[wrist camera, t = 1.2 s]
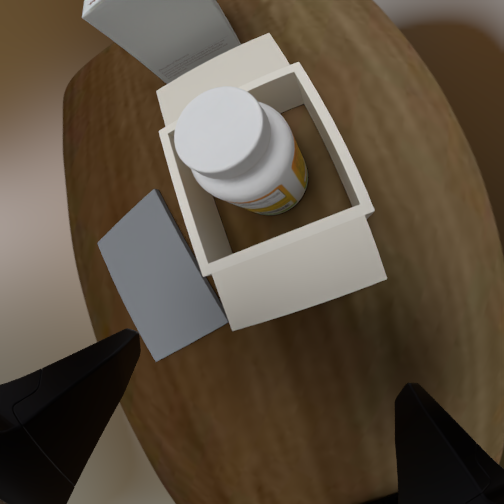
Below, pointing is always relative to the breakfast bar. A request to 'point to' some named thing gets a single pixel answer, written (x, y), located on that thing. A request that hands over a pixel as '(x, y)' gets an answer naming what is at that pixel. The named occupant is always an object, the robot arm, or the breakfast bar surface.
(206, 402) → the breakfast bar surface
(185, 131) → the supplement bottle
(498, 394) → the breakfast bar surface
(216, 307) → the mat
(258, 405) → the breakfast bar surface
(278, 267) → the carton
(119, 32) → the supplement box
